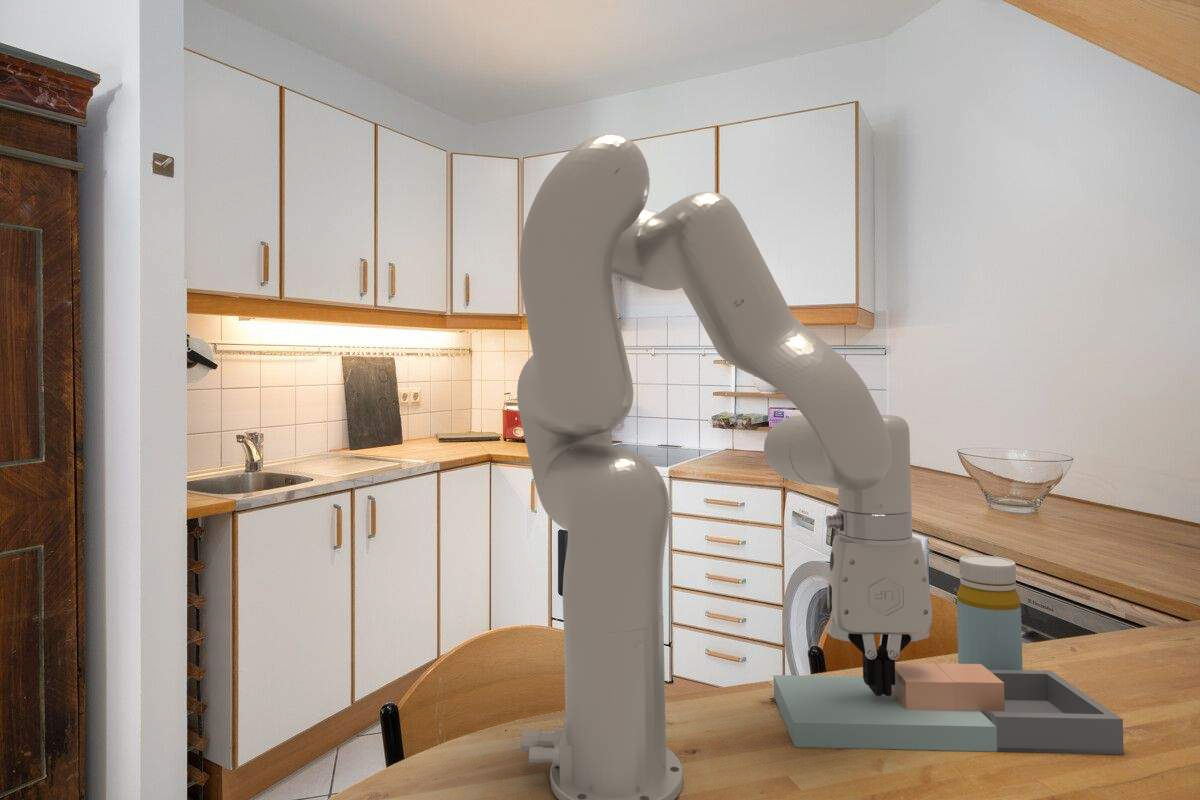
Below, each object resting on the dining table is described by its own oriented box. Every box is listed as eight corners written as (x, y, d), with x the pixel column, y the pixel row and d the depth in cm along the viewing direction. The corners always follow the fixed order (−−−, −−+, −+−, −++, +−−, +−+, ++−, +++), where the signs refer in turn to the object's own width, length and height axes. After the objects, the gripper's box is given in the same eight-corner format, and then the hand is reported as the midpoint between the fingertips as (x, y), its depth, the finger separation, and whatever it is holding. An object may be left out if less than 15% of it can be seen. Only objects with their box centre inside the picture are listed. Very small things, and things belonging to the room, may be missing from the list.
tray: (997, 751, 66) (996, 716, 66) (945, 698, 78) (944, 669, 78) (1123, 754, 65) (1122, 719, 65) (1051, 700, 77) (1050, 670, 77)
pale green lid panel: (794, 746, 68) (793, 722, 68) (773, 695, 80) (773, 675, 80) (997, 751, 66) (996, 726, 66) (945, 698, 78) (944, 677, 78)
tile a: (906, 709, 70) (905, 681, 70) (890, 689, 75) (889, 663, 75) (955, 710, 70) (954, 682, 70) (935, 690, 75) (934, 664, 75)
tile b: (955, 710, 70) (954, 682, 70) (935, 690, 75) (935, 663, 75) (1004, 711, 70) (1004, 682, 70) (981, 690, 75) (981, 664, 75)
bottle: (1004, 668, 87) (1002, 554, 87) (1034, 691, 80) (1031, 567, 80) (949, 667, 88) (946, 554, 88) (973, 690, 81) (970, 567, 81)
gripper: (814, 533, 70) (819, 705, 70) (960, 531, 69) (965, 707, 69) (799, 520, 78) (803, 676, 78) (930, 519, 77) (934, 677, 77)
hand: (879, 690), depth 73 cm, fingers closed
